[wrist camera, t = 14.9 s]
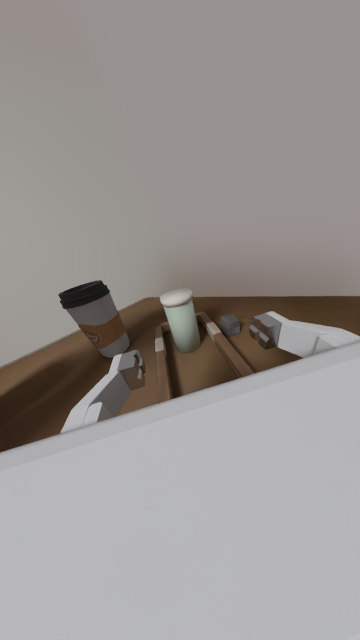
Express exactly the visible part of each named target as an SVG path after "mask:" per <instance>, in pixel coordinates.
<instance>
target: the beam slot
mask: <svg viewBox="0 0 360 640" xmlns="http://www.w3.org/2000/svg"><path fill="white" fill-rule="evenodd" d="M195 316H196V321H197V323H198V322H201V323H202V325H203V326H204V328H205V329H206V331H207V333H208V334H209V336H210V337H211V339H212V340H213V342H214V343H215V344H216V346H217V347H218V349H219V350H220V352H221V353H222V355H223V356H224V358H225V359H226V361H227V363H228V364H229V366H230V367H231V369H232V370H233V372H234V373H235V375H236V376H237V378H238V379H239V378H242V377H245V376H248V375H252V374H255V373H254V372H253V371H252V370H251V368H250V367H249V366H248V365H247V364H246V362H245V361H244V360H243V359H242V357H241V356H240V355H239V354H238V352H237V351H236V350H235V349H234V348H233V346H232V345H231V344H230V343H229V341H228V340H227V339H226V338H225V336H224V335H223V334H222V333H221V331H220V330H219V328H218V327H217V326H216V325H215V324H214V322H212V321H211V319H210V318H209V317H208V316H207V314H206V313H205V312H204V311H201V312H198V313H195ZM220 318H221V327H222V330H223V331H224V332H225V334H226V335H227V336H228V337H229V336H233V335H236V334H239V333H240V323H239V320H238V319H237V318H236V317H235V316H234V315H232V314H229V315H226V316H222V317H220ZM168 331H171V328H170V325H169V322H164V323H161V324H158V325H155V350H156V362H157V382H158V402H159V403H161V402H164V401H168V400H171V399H173V396H172V389H171V382H170V375H169V368H168V361H167V353H166V346H165V341H164V334H163V333H164V332H168Z"/></svg>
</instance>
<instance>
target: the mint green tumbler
mask: <svg viewBox="0 0 360 640" xmlns="http://www.w3.org/2000/svg"><path fill="white" fill-rule="evenodd" d="M192 298H193V295H192V291H191V289H188V288H181V289H175V290H172V291H169V292H167V293H165V294H163V295H162V296H161V297H160V301H161V304H162V306H164V310H165V313H166V316H167V319H168V322H169V325H170V328H171V332H172V335H173V338H174V341H175V344H176V347H177V350H178V351H180V352H182V353H190V352H193V351H195V350H197V349H198V348H199V347H200V345H201V341H200V336H199V331H198V326H197V321H196V316H195V311H194V307H193V302H192Z"/></svg>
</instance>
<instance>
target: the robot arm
mask: <svg viewBox="0 0 360 640" xmlns="http://www.w3.org/2000/svg"><path fill="white" fill-rule="evenodd" d="M250 324H251V326H250V328H249V332H250V335H251V337H252V338H253V339H254V340H256V341H259V344H260V345H261V346H262V347H263V348H264V349H265V350H267V349H270V348H274V347H278V348H281V349H283V350H286V351H288V352H291V353H293V354H296V355H298V356H300V357H303V359H300V360H297V361H294V362H290V363H287V364H284V365H281V366H277V367H274V368H271V369H268V370H264V371H261V372H258V373H255V374H252V375H248V376H245V377H242V378H239V379H235V380H232V381H229V382H226V383H222V384H219V385H216V386H213V387H210V388H206V389H203V390H200V391H197V392H193V393H190V394H187V395H184V396H181V397H177V398H174V399H171V400H168V401H164V402H161V403H158V404H155V405H152V406H148V407H145V408H142V409H139V410H135V411H132V412H129V413H126V414H123V415H119V416H117V415H118V414H119V412H120V410H121V408H122V407H123V405H124V403H125V402H126V400H127V398H128V396H129V395H130V393H131V390H134V389H137V388H140V387H143V386H145V377H144V375H143V374H144V373H145V364H144V361H143V359H142V358H140V352H139V350H133V351H129V352H125V353H122V354H118V355H115V356H114V358H113V361H112V364H111V367H110V370H109V373H108V374H107V375H105V376H104V377H103V378H102V379H101V380H100V381H99V382H98V383H97V384H96V385H95V386H94V387H93V388H92V389H91V390H90V391H89V392H88V394H87V395H86V396H85V397H84V398H83V399H82V400H81V401H80V402H79V403H78V404H77V405H76V406H75V407H74V408H73V409H72V410H71V412H70V414H69V416H68V418H67V420H66V422H65V424H64V427H63V429H62V431H61V433H60V434H58V435H55V436H52V437H48V438H45V439H42V440H39V441H35V442H32V443H29V444H26V445H23V446H19V447H16V448H13V449H10V450H6V451H3V452H0V640H360V336H357V335H355V334H353V333H350V332H348V331H346V330H344V329H341V328H335V327H329V326H323V325H317V324H311V323H305V322H299V321H290V320H288V319H286V318H284V317H282V316H280V315H279V314H277V313H275V312H272V311H270V312H267V313H264V314H261V315H258V316H254V317H251V318H250Z"/></svg>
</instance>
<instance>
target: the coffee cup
mask: <svg viewBox="0 0 360 640" xmlns="http://www.w3.org/2000/svg"><path fill="white" fill-rule="evenodd" d="M109 292H110V291H109V289H108V288H107V286H106V285H104V284H103V282H102V281H101V280H99V281H94V282H90V283H86V284H83V285H80V286H77V287H74V288H71V289H69V290H66V291H64V292H62V293H60V294H59V297H60V299H61V301H60V303H61V304H62V306H63V308H64V309H66V310H67V311H68V313H69V314H70V315H71V316H72V318H73V319H74V320H75V321H76V323H77V324H78V326H79V327H80V328H81V330H82V331H83V332H84V333H85V335H86V336H87V337H88V338H89V340H90V341H91V342H92V343H93V344H94V346H95V347H96V348H97V349H98V350H99V351H100V353H101V354H102V355H103V356H106V357H107V358H112V357H114V356H115V355H118V354H122V353H123V352H125V351H126V350H127V348H128V347H129V342H130V341H129V338H128V336H127V333H126V331H125V328H124V325H123V323H122V320H121V318H120V315H119V313H118V311H117V309H116V307H115V305H114V302H113V300H112V297H111V295H110V293H109Z"/></svg>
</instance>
